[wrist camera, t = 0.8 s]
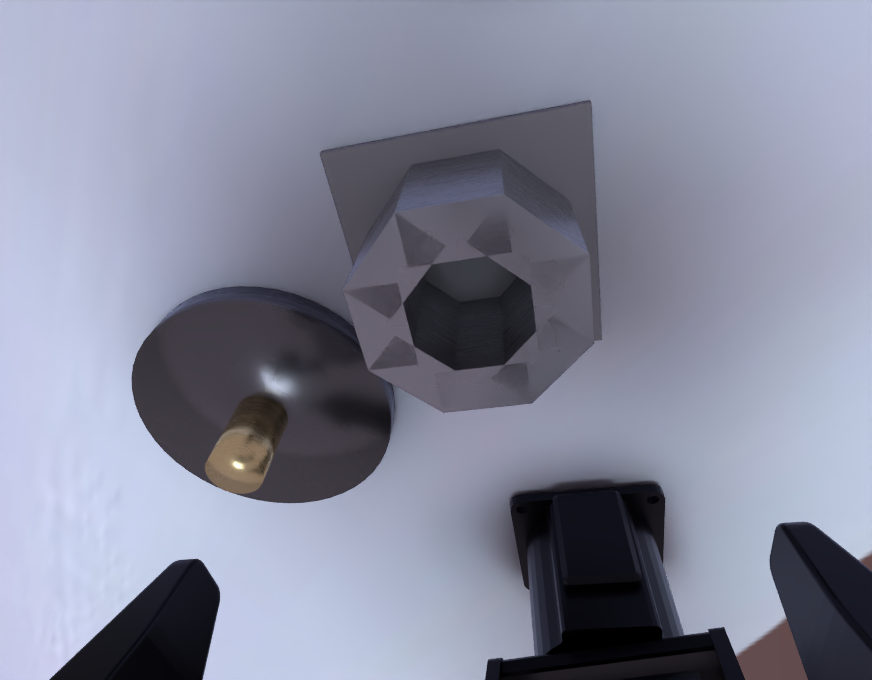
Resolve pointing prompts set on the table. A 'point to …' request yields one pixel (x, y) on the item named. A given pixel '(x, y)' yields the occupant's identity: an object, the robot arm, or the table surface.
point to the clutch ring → (483, 318)
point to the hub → (263, 395)
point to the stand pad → (515, 135)
